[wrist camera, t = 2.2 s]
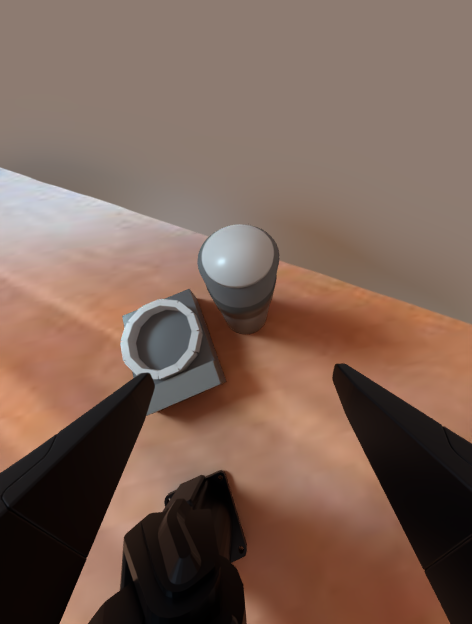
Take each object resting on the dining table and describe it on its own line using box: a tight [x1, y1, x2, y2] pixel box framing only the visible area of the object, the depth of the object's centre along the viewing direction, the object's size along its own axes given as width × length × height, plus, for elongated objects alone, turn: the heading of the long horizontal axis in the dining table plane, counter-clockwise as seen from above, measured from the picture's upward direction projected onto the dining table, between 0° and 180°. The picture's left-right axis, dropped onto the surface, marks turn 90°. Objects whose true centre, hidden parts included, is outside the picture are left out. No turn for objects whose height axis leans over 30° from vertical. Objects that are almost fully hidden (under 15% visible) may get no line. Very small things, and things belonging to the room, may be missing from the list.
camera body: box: [120, 289, 226, 416], centre depth 21 cm, size 12×9×4 cm
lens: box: [198, 224, 279, 334], centre depth 18 cm, size 6×6×13 cm
